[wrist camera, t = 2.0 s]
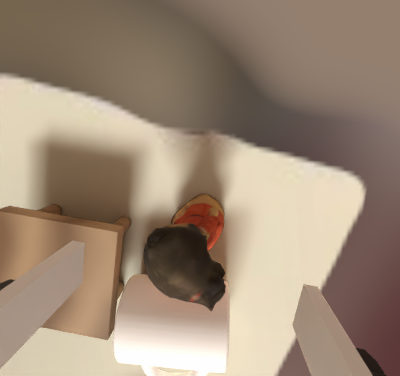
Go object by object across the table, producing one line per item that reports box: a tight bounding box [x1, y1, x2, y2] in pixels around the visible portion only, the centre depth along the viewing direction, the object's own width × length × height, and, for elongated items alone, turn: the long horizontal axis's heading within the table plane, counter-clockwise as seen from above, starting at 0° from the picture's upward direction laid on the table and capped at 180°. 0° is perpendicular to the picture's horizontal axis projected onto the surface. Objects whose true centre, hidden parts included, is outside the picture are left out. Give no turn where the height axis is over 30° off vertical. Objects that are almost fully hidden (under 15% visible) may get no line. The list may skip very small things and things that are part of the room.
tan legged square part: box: [0, 204, 131, 340], centre depth 26 cm, size 11×11×6 cm
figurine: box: [144, 194, 226, 311], centre depth 21 cm, size 6×6×12 cm
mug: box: [113, 274, 230, 376], centre depth 26 cm, size 12×10×8 cm
